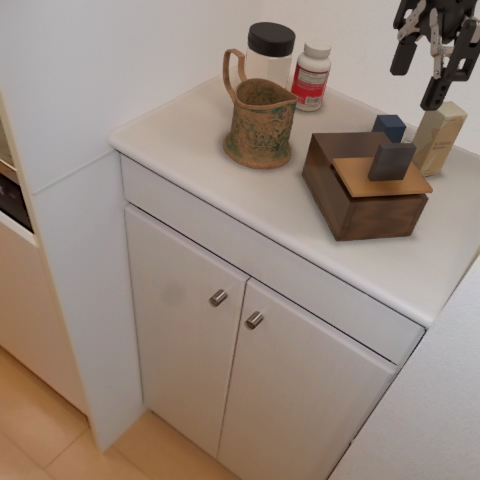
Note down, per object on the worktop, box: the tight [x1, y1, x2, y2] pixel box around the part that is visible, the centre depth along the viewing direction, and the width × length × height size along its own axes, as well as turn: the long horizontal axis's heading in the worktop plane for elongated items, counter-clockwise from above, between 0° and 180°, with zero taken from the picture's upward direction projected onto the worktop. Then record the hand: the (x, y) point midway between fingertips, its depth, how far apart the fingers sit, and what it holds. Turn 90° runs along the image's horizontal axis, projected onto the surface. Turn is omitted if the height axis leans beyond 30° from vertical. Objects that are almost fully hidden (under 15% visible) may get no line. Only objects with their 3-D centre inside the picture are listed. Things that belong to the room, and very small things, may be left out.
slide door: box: [332, 142, 434, 197], centre depth 70 cm, size 12×8×6 cm, turn 104°
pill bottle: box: [290, 37, 332, 112], centre depth 95 cm, size 6×6×11 cm
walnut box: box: [301, 131, 429, 242], centre depth 78 cm, size 12×16×7 cm
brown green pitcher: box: [222, 48, 298, 170], centre depth 84 cm, size 12×18×12 cm, turn 33°
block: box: [370, 114, 408, 143], centre depth 93 cm, size 4×4×4 cm
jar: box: [244, 21, 297, 89], centre depth 94 cm, size 9×8×12 cm
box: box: [411, 100, 469, 178], centre depth 86 cm, size 5×4×11 cm
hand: (412, 91), depth 63 cm, fingers open, 8 cm apart
